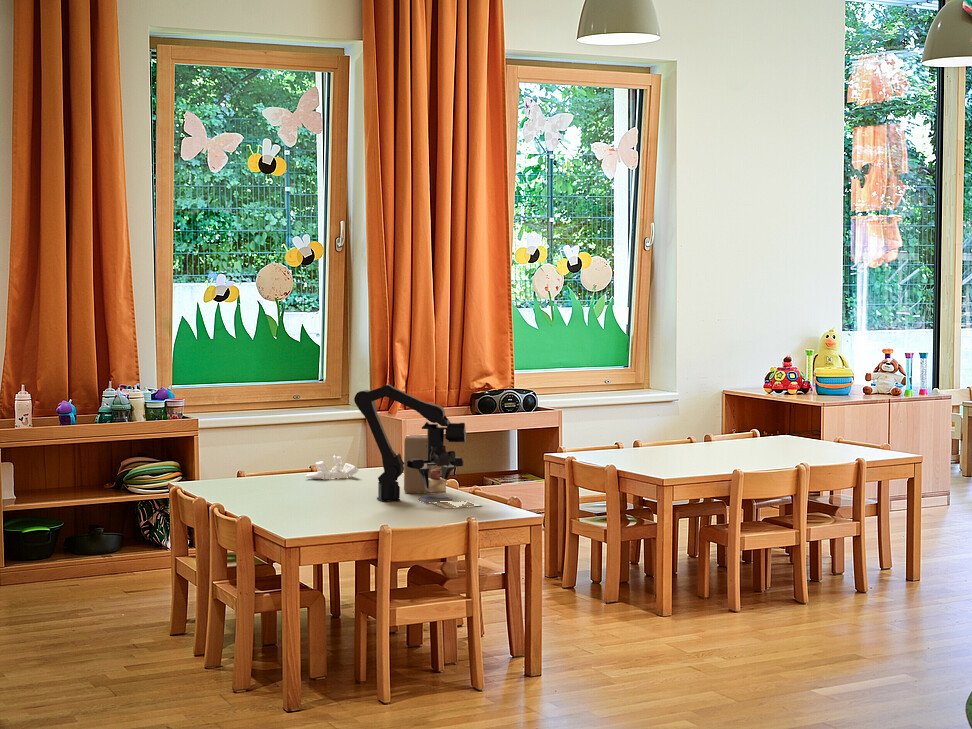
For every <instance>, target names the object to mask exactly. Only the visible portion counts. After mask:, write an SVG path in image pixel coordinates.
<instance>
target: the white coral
mask: <svg viewBox="0 0 972 729" xmlns="http://www.w3.org/2000/svg"><path fill="white" fill-rule="evenodd" d="M332 461H333V463H335V466H333V467H332V468H331V470H329V469H328V466H327V465H326V463H325V462H324V461H321V460H320V461H317V462H315V463H314V465H315V466H316V467H317V468H318V469H319V470H318V471H316V472H311V473H308V474H306V475H304V477H305V478H307V479H312V480H314V479H315V480H321V479H329V478H347V477H349V478H350V476H351V477H353V475H355V474H358V472H359V471H360V469H359V468H357V466H356V465H352V464H351V463H347V462H345V463H344V466H343V467H342V463H343V457H341V456H337V455H333V458H332ZM347 479H348V478H347ZM329 480H330V479H329Z"/></svg>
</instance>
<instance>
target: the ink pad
mask: <svg viewBox="0 0 972 729" xmlns="http://www.w3.org/2000/svg"><path fill="white" fill-rule="evenodd" d="M418 500H419V501H418ZM417 501H418V502H420V501H421V503H422V502H424V503H423V504H425V503H427V504H430V503H429V502H440V501H453V498H452V497H450V496H447V495H445V494H437V495H423V496H422V495H421V496H417Z"/></svg>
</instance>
